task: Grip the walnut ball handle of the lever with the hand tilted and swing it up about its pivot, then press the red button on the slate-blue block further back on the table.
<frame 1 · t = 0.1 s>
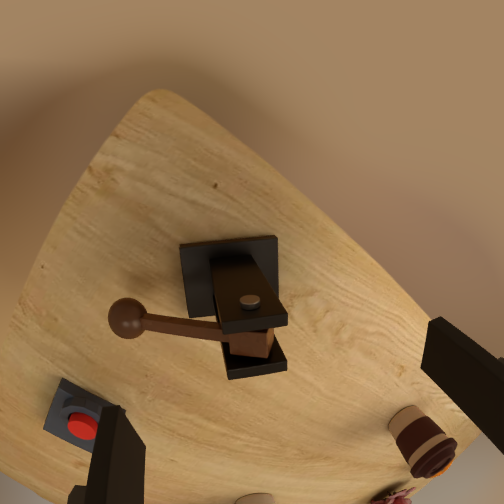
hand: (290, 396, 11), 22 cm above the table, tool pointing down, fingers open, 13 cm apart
lever: (181, 327, 23), point 10 cm above the table, hinge at -25.0°
coffee cup: (402, 417, 50), on the table
fruit: (429, 453, 62), on the table
bracket: (230, 275, 33), on the table
button: (82, 426, 31), point 4 cm above the table, slide at 0.1 cm
button block: (82, 416, 36), on the table
mug: (246, 501, 50), on the table
flower: (387, 492, 65), on the table
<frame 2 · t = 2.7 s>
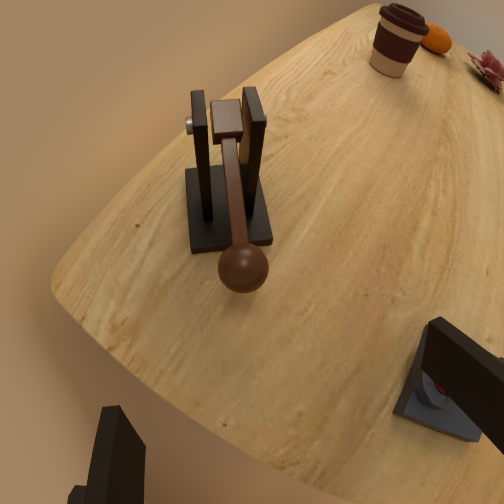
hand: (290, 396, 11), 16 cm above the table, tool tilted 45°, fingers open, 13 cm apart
lever: (234, 194, 22), point 10 cm above the table, hinge at -25.0°
coffee cup: (385, 69, 50), on the table
fruit: (429, 48, 62), on the table
bracket: (225, 207, 33), on the table
button: (453, 371, 22), point 4 cm above the table, slide at 0.1 cm
button block: (449, 387, 26), on the table
flower: (482, 79, 60), on the table
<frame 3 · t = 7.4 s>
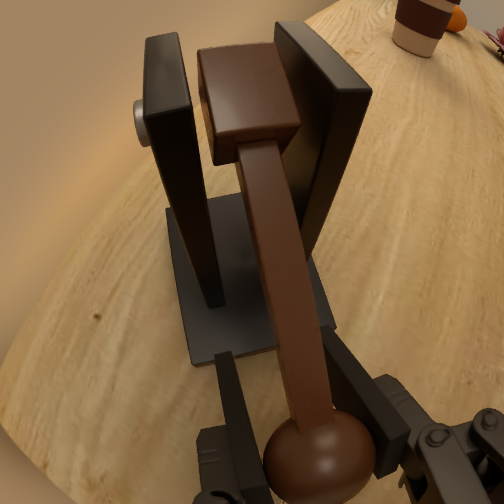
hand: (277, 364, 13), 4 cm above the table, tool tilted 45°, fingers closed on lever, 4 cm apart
lever: (289, 304, 8), point 10 cm above the table, hinge at -25.0°, touching gripper
coffee cup: (411, 48, 37), on the table
fruit: (443, 27, 49), on the table
bracket: (243, 271, 19), on the table
flower: (501, 58, 47), on the table
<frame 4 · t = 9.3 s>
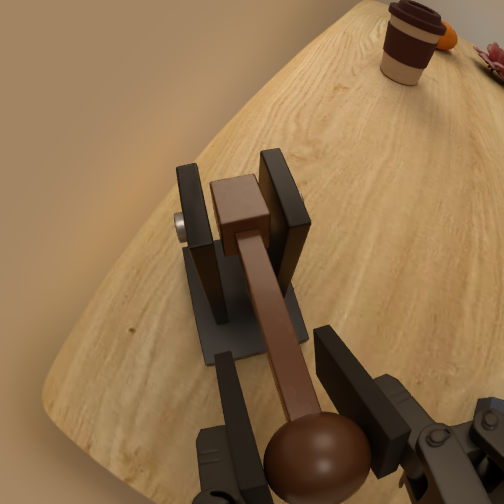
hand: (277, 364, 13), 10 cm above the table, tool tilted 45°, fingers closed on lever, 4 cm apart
lever: (274, 325, 11), point 13 cm above the table, hinge at 9.4°, touching gripper
coffee cup: (398, 76, 44), on the table
fruit: (434, 45, 55), on the table
bracket: (242, 296, 25), on the table
button block: (499, 453, 17), on the table
flower: (491, 74, 53), on the table
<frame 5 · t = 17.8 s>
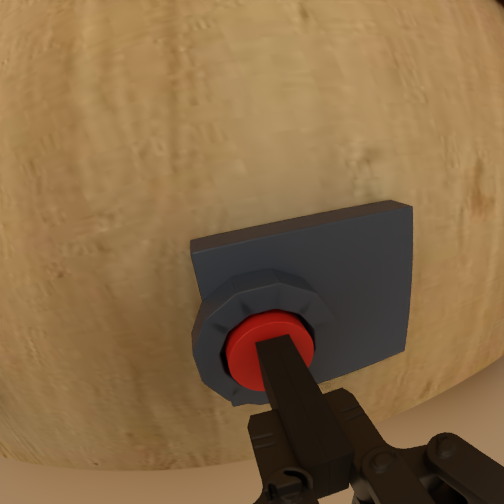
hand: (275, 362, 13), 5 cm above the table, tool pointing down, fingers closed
button: (268, 348, 14), point 4 cm above the table, slide at -0.7 cm, touching gripper
button block: (309, 298, 18), on the table
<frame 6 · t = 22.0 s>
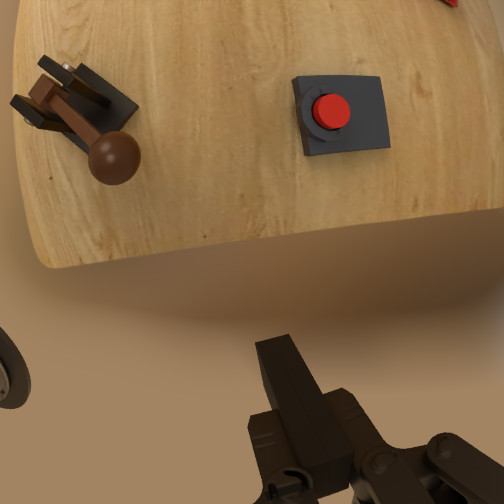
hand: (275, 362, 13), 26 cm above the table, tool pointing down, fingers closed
lever: (76, 121, 19), point 14 cm above the table, hinge at 24.9°
bracket: (89, 110, 30), on the table
button: (331, 111, 32), point 4 cm above the table, slide at 0.1 cm
button block: (340, 114, 36), on the table
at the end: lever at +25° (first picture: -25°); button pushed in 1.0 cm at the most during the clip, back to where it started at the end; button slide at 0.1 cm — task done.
